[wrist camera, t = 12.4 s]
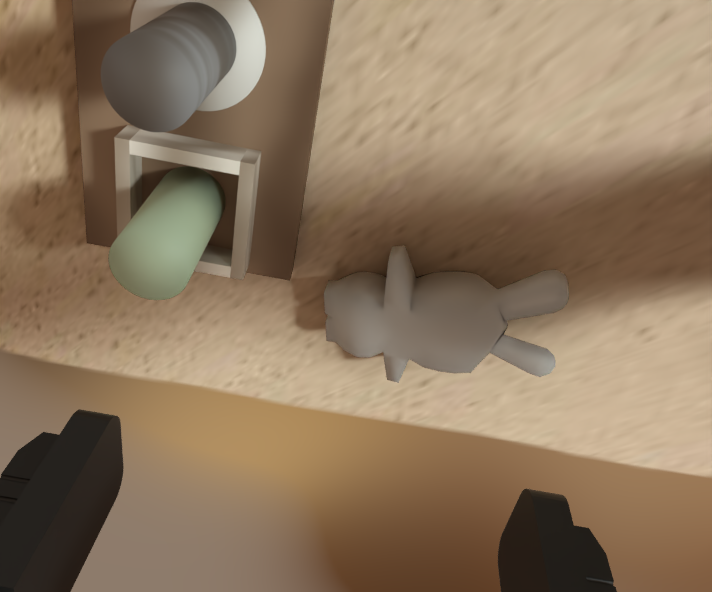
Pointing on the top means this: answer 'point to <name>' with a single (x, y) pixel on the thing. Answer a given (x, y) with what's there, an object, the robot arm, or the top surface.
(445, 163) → the top surface
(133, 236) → the green pin
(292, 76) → the board
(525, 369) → the bunny figurine
